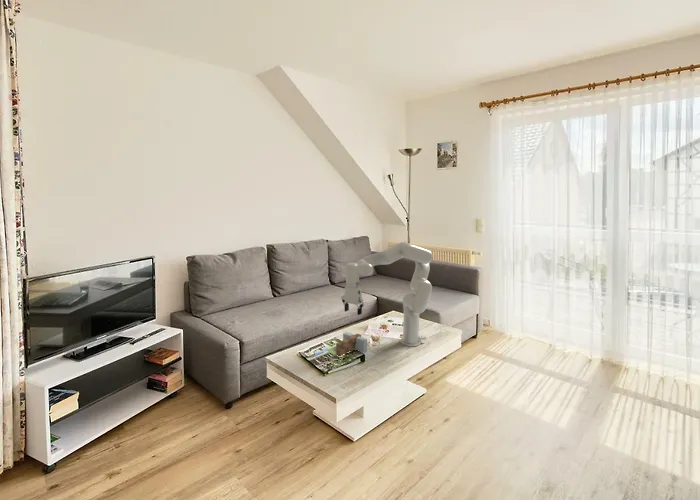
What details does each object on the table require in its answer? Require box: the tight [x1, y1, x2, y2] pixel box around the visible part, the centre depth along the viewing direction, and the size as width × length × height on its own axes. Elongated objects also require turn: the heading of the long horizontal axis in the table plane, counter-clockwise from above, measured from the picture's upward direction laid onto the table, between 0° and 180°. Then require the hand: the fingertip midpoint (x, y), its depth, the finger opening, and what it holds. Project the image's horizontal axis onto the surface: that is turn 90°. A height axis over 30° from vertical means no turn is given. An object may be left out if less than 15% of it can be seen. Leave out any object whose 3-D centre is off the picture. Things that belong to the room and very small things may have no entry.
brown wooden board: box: [335, 333, 362, 356], centre depth 228 cm, size 19×3×8 cm, turn 139°
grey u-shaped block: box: [342, 331, 368, 354], centre depth 232 cm, size 16×3×8 cm, turn 50°
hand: (353, 312), depth 227 cm, fingers open, 9 cm apart
